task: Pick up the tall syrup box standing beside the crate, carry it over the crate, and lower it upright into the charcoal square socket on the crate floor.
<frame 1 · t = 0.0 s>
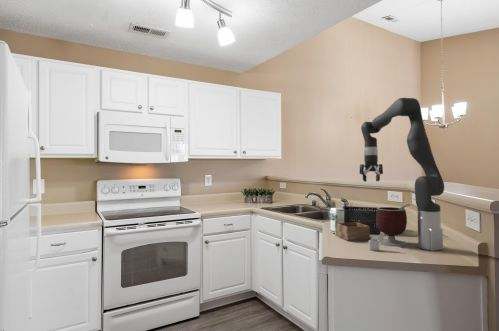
hand: (371, 181, 188), 29 cm above the countertop, tool pointing down, fingers open, 8 cm apart
crate: (352, 237, 166), on the countertop
mate gourd: (393, 243, 153), on the countertop
storage bin: (367, 231, 186), on the countertop
lighter: (377, 250, 141), on the countertop
syrup box: (337, 233, 179), on the countertop
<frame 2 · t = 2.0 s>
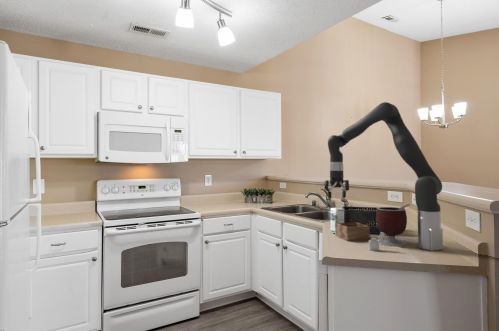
hand: (336, 198, 179), 20 cm above the countertop, tool pointing down, fingers open, 8 cm apart
nothing on the countertop moved.
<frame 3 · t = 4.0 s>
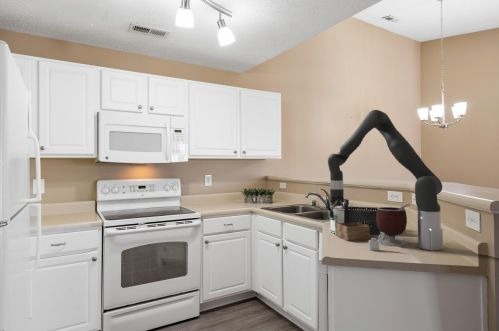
hand: (337, 217, 179), 9 cm above the countertop, tool pointing down, fingers closed on syrup box, 6 cm apart
syrup box: (337, 233, 179), on the countertop, touching gripper
everything else where it was.
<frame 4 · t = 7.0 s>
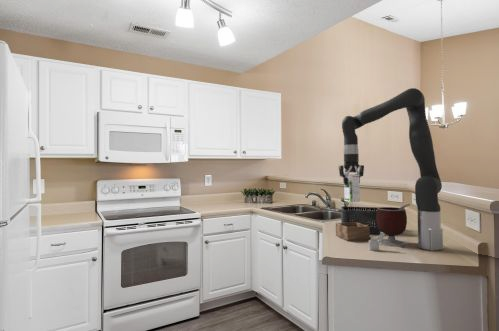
hand: (351, 184, 167), 29 cm above the countertop, tool pointing down, fingers closed on syrup box, 6 cm apart
syrup box: (352, 201, 166), point 19 cm above the countertop, touching gripper
everything else where it was.
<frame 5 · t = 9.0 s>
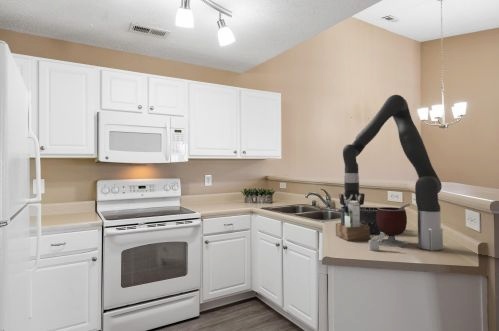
hand: (352, 212, 166), 13 cm above the countertop, tool pointing down, fingers closed on syrup box, 6 cm apart
syrup box: (352, 230, 166), point 4 cm above the countertop, touching gripper
when the fingers open (11 cm above the countertop, at t = 10.5 s): syrup box drops 1 cm, resting on crate.
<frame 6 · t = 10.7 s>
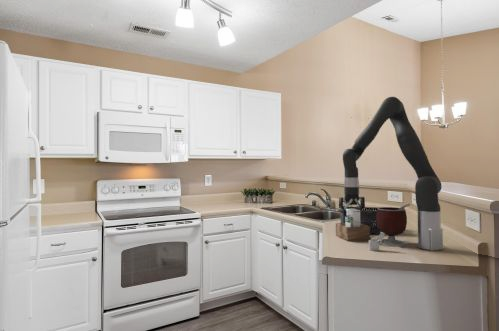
hand: (352, 216, 166), 11 cm above the countertop, tool pointing down, fingers open, 8 cm apart
syrup box: (352, 236, 166), point 1 cm above the countertop, touching crate
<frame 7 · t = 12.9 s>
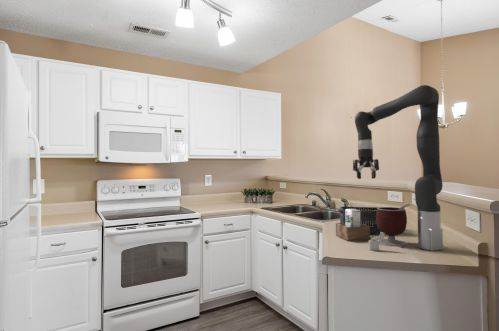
hand: (366, 178, 167), 32 cm above the countertop, tool pointing down, fingers open, 8 cm apart
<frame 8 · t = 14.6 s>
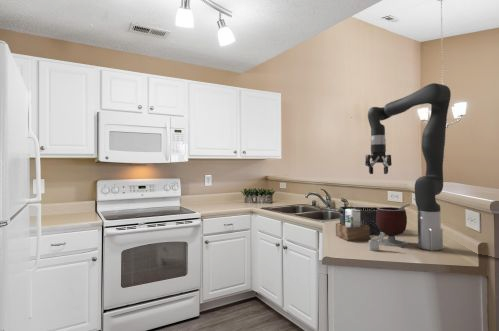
hand: (378, 173, 168), 34 cm above the countertop, tool pointing down, fingers open, 8 cm apart
at the end: syrup box 0.3 cm off-centre on the crate, point 0.6 cm above the crate's base; syrup box tilted 0°; the gripper is holding nothing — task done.
